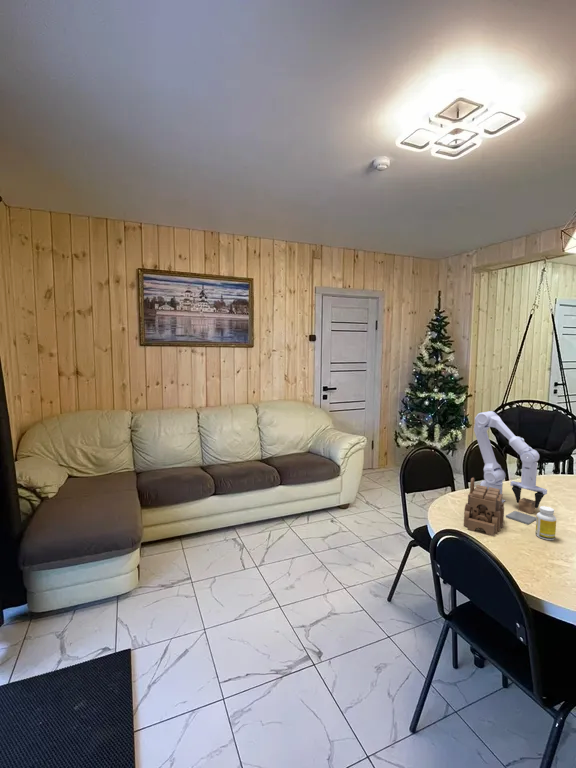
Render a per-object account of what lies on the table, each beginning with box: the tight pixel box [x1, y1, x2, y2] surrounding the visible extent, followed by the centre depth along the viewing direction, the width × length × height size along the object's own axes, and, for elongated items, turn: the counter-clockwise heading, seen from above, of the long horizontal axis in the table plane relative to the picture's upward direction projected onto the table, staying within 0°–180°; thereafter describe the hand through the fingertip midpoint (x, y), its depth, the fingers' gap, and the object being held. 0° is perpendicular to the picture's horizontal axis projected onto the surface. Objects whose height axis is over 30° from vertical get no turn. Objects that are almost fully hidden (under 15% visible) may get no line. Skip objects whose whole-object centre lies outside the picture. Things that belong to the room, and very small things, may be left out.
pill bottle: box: [535, 505, 557, 541], centre depth 149 cm, size 6×6×12 cm
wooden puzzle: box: [463, 477, 505, 537], centre depth 161 cm, size 22×15×19 cm, turn 145°
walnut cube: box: [518, 497, 536, 515], centre depth 174 cm, size 5×5×5 cm
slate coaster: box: [505, 510, 536, 525], centre depth 166 cm, size 9×9×1 cm
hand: (527, 505), depth 174 cm, fingers open, 7 cm apart
